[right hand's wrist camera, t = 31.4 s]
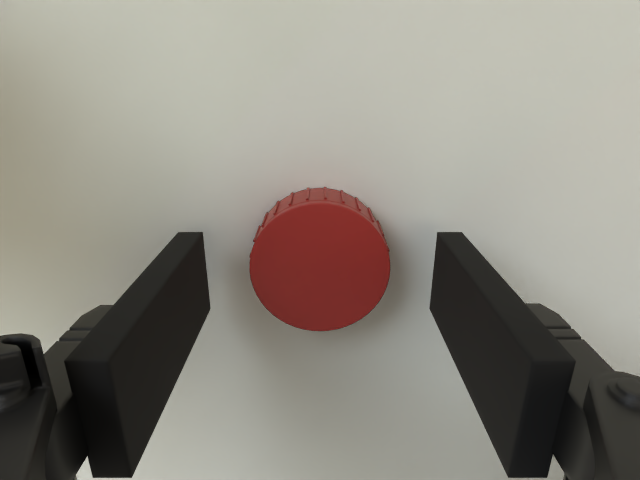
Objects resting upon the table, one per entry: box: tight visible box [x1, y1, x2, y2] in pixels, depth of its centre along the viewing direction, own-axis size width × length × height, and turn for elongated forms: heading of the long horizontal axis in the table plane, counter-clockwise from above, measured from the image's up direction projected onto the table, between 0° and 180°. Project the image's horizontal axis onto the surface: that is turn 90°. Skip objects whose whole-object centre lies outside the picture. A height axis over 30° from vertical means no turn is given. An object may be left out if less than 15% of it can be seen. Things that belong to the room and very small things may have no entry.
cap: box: [250, 187, 390, 331], centre depth 15 cm, size 5×5×2 cm
